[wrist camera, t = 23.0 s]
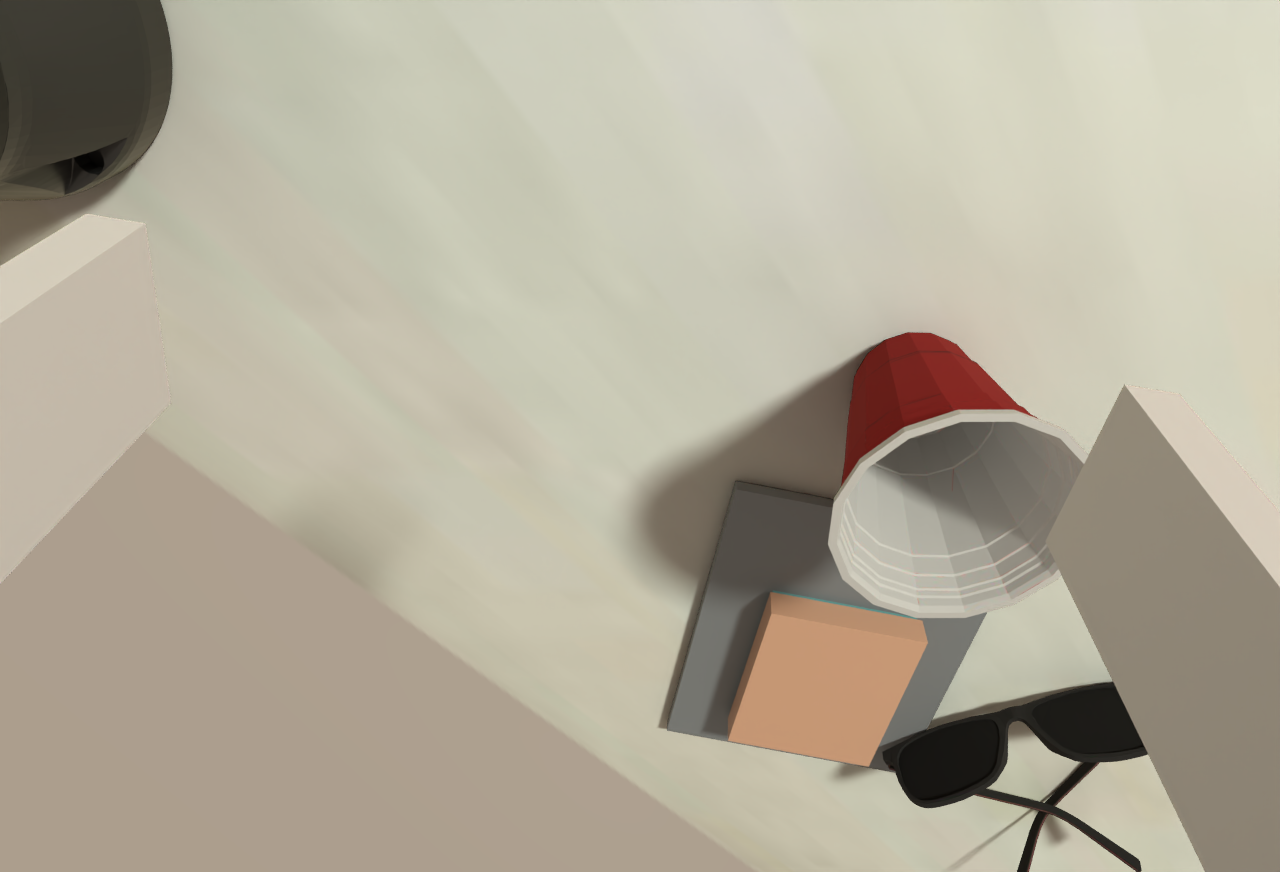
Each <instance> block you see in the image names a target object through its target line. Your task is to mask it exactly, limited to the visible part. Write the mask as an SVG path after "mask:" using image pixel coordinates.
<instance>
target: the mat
mask: <svg viewBox="0 0 1280 872" xmlns="http://www.w3.org/2000/svg"><path fill="white" fill-rule="evenodd" d="M833 503H834V500H833V499H828V498H823V497H817V496H812V495H807V494H802V493H797V492H791V491H786V490H781V489H776V488H770V487H765V486H760V485H755V484H750V483H744V482H739V481H736V482H735V486H734V489H733V493H732V496H731V500H730V503H729V507H728V510H727V514H726V517H725V521H724V524H723V528H722V531H721V535H720V538H719V542H718V545H717V549H716V552H715V556H714V559H713V563H712V566H711V570H710V573H709V577H708V581H707V584H706V588H705V591H704V595H703V598H702V602H701V605H700V609H699V612H698V616H697V619H696V623H695V626H694V630H693V633H692V637H691V640H690V644H689V647H688V651H687V654H686V658H685V661H684V665H683V668H682V672H681V676H680V679H679V683H678V686H677V690H676V693H675V697H674V700H673V704H672V707H671V711H670V714H669V718H668V723H667V731H673V732H678V733H684V734H689V735H694V736H700V737H705V738H711V739H716V740H721V741H727V742H732V741H728V716H729V714H730V711H731V708H732V705H733V702H734V699H735V696H736V693H737V690H738V687H739V684H740V681H741V678H742V675H743V672H744V669H745V666H746V663H747V660H748V657H749V654H750V651H751V648H752V645H753V642H754V639H755V636H756V633H757V630H758V627H759V624H760V621H761V618H762V615H763V612H764V609H765V606H766V603H767V601H768V598H769V595H770V592H772V591H779V592H784V593H789V594H794V595H800V596H805V597H810V598H816V599H821V600H826V601H831V602H837V603H842V604H847V605H853V606H858V607H863V608H869V609H874V610H879V611H884V612H890V613H895V614H900V615H905V614H902V613H899V612H895V611H892V610H889V609H886V608H883V607H879V606H876V605H873V604H872V603H871V602H870V601H868V600H867V599H866V598H865V597H863V596H862V595H861V594H860V593H859V592H857V591H856V590H855V589H854V588H853V587H851V586H850V585H849V584H848V583H846V582H845V581H844V580H843V579H842V577H841V575H840V572H839V570H838V567H837V565H836V563H835V560H834V558H833V555H832V553H831V551H830V548H829V546H828V539H829V532H830V525H831V517H832V510H833ZM986 614H987V612H985V613H982V614H978V615H974V616H971V617H967V618H917V620H922V621H923V625H924V629H925V633H926V637H927V641H928V644H927V646H926V648H925V650H924V652H923V654H922V656H921V659H920V661H919V663H918V665H917V667H916V669H915V671H914V673H913V675H912V677H911V679H910V681H909V684H908V686H907V688H906V690H905V692H904V694H903V696H902V698H901V700H900V702H899V704H898V707H897V709H896V711H895V713H894V715H893V717H892V719H891V721H890V723H889V725H888V727H887V729H886V732H885V734H884V736H883V738H882V740H881V742H880V744H879V746H878V748H877V750H876V752H875V754H874V757H873V759H872V761H871V763H870V765H869V767H868V768H873V769H878V770H884V771H889V772H895V771H893V770H890V769H889V767H888V765H886V763H885V762H884V760H883V754H882V752H883V751H885V750H887V749H889V748H891V747H893V746H895V745H897V744H899V743H901V742H903V741H905V740H907V739H909V738H911V737H913V736H915V735H917V734H919V733H922V732H925V731H926V730H927V728H928V726H929V724H930V722H931V720H932V718H933V716H934V715H935V713H936V711H937V709H938V707H939V705H940V703H941V701H942V699H943V697H944V695H945V693H946V691H947V689H948V687H949V685H950V683H951V682H952V680H953V678H954V676H955V674H956V672H957V670H958V668H959V666H960V664H961V662H962V660H963V658H964V656H965V654H966V652H967V650H968V649H969V647H970V645H971V643H972V641H973V639H974V637H975V635H976V633H977V631H978V629H979V627H980V625H981V623H982V621H983V619H984V617H985V616H986ZM906 616H908V615H906ZM732 743H737V742H732ZM738 744H743V743H738ZM743 745H748V744H743ZM749 746H754V745H749ZM754 747H759V746H754ZM759 748H764V747H759ZM765 749H770V748H765ZM770 750H775V749H770ZM776 751H781V750H776ZM781 752H786V751H781ZM786 753H791V752H786ZM792 754H797V753H792ZM797 755H802V754H797ZM803 756H808V755H803ZM808 757H813V756H808ZM813 758H818V757H813ZM819 759H824V758H819ZM824 760H829V759H824ZM830 761H835V760H830ZM835 762H840V761H835ZM841 763H846V762H841ZM846 764H851V763H846ZM851 765H856V764H851ZM857 766H862V765H857ZM862 767H867V766H862ZM895 773H896V772H895Z"/></svg>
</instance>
